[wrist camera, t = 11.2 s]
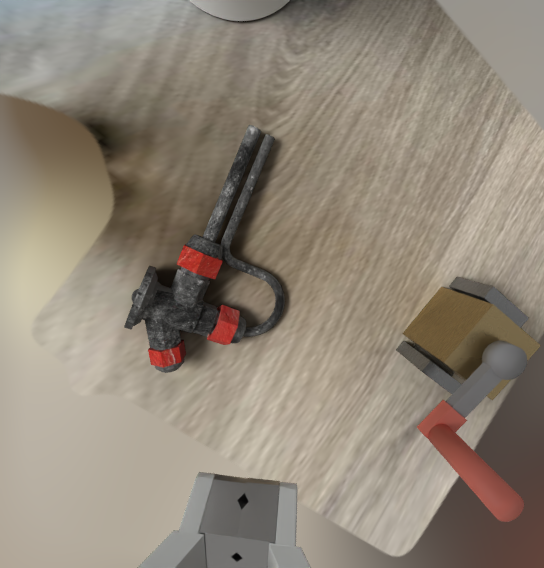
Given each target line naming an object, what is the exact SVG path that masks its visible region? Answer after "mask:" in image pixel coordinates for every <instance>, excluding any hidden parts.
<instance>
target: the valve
mask: <svg viewBox="0 0 544 568" xmlns="http://www.w3.org/2000/svg"><path fill="white" fill-rule="evenodd" d="M260 133H261V131H260V130H259V129H258V128H256V127H254V126H252V125H249V126H248V128H247V131H246V133H245V136H244V138H243V141H242V143H241V145H240V148H239V150H238V153H237V155H236V158H235V160H234V162H233V165H232V167H231V170H230V172H229V174H228V177H227V179H226V182H225V184H224V187H223V189H222V191H221V194H220V196H219V199H218V201H217V203H216V206H215V208H214V211H213V213H212V216H211V218H210V220H209V223H208V225H207V228H206V230H205V232H204V235H203V237H201V236H198V235H193V236H192V238H191V239H190V240H189V241H188V243H187V244H185V245H184V247H183V249H182V252H181V254H180V257H179V259H178V262H177V265H179V266H181V269H178V270H177V273H176V276H175V278H174V281H173V283H172V286H171V288H168V287H166V286H163V285H160V282H157V280H158V277H157V274H156V271H155V270H156V268H155V267H152V266H149V267H148V269H147V272H146V274H145V276H144V278H143V281H142V283H141V286H140V288H139V289H137V290H135V291H134V292H133V294H132V301H133V305H132V308H131V310H130V313H129V315H128V318H127V321H126V323H125V326H124V327H125V328H128V329H132V327H133V326H135V325H136V324H138V323H140V322H141V320H142V319H143V320H145V324H146V329H147V334H148V339H149V345H150V348H149V349H148V351H149V357H150V362H151V365H155V368H156V369H157V370H159V371H161V372H165V373H167V372H172V371H175V370H177V369H178V368H180V366H181V365H182V364H183V363H184V357H185V355H186V351H185V345H184V340H182V339H181V337H180V331H179V330H183V331H186V332H189V333H192V332H194V333H197V334H200V335H203V336H206V337H207V336H208V337H207V340H210V341H213V342H216V343H220V344H223V345H227V344H230V343H238V342H240V340H241V339H242V337H243V336H256V335H260V334H262V333H265V332H267V331H268V330H269V329H271V328H272V327H273V326H274V325H275V324H276V323H277V322H278V320H279V319H280V317H281V315H282V312H283V309H284V303H285V298H284V292H283V289H282V286H281V285H280V283H279V282H278V280H277V279H276V278H275V277H274V276H273V275H271V274H270V273H268V272H266V271H264V270H262V269H260V268H257V267H255V266H252V265H250V264H247V263H245V262H243V261H240V260H238V259H236V258H234V257H233V256H232V255H231V253H230V244H231V242H232V240H233V237H234V235H235V232H236V230H237V228H238V225H239V223H240V221H241V218H242V216H243V213H244V211H245V209H246V206H247V204H248V201H249V199H250V197H251V194H252V192H253V190H254V187H255V185H256V182H257V180H258V178H259V175H260V173H261V171H262V168H263V166H264V163H265V161H266V159H267V156H268V154H269V152H270V149H271V147H272V144H273V142H274V140H275V139H274V137H272V136H270V135H267V134H266V135H265V137H264V140H263V142H262V145H261V147H260V149H259V152H258V154H257V157H256V159H255V161H254V164H253V166H252V169H251V171H250V173H249V176H248V178H247V181H246V183H245V185H244V188H243V190H242V193H241V195H240V197H239V200H238V202H237V205H236V207H235V209H234V212H233V214H232V217H231V219H230V221H229V224H228V226H227V229H226V231H225V233H224V236H223V238H222V241H221V245H220V244H217V243H215V241H216V239H217V236H218V234H219V231H220V229H221V227H222V224H223V222H224V219H225V217H226V215H227V212H228V210H229V207H230V205H231V203H232V200H233V198H234V195H235V193H236V191H237V188H238V186H239V184H240V181H241V179H242V176H243V174H244V172H245V169H246V167H247V164H248V162H249V160H250V157H251V155H252V152H253V150H254V148H255V145H256V143H257V140H258V138H259V136H260ZM222 258H223V260H224V261H225V262H226V263H227V264H228V265H230V266H231V267H233V268H235V269H238V270H240V271H243V272H245V273H248V274H250V275H253V276H255V277H258V278H260V279H262V280H264V281H266V282H267V283H268V284H269V285H270V286H271V287H272V289H273V291H274V293H275V298H276V303H275V308H274V311H273V313H272V315H271V316H270V317H269V319H268V320H267V321H265V322H264V323H263V324H261V325H258V326H255V327H246V320H245V319H244V318H242V317H241V316H240V315H239V312H240V311H238V310H236V309H233V308H230V307H227V306H224V305H221V306H219V307H218V308H217V307H216V306H214V305H211V304H208V303H205V302H203V297H204V295H205V292H206V290H207V288H208V286H209V283H210V280H209V278H212V279H215V278H216V276H217V274H218V271H219V269H220V266H221V264H222V262H223V261H222Z"/></svg>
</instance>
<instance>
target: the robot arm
mask: <svg viewBox="0 0 544 568" xmlns="http://www.w3.org/2000/svg"><path fill="white" fill-rule="evenodd" d="M189 1H190V2H191V3H193V4H194V5H195V6H197V7H198V8H200V9H201V10H203V11H205V12H207V13H209V14H211V15H213V16H216V17H219V18H222V19H226V20H232V21H250V20H256V19H260V18H263V17H266V16H268V15H270V14H272V13H274V12H276V11H277V10H279V9H280V8H282V7H283V6H284V5H285V4H287V3H288V2H289V1H290V0H189ZM279 485H280V487H279ZM296 519H297V483H287V482H280V481H273V480H263V479H254V478H241V477H234V476H225V475H218V474H212V473H204V472H199V473H198V475H197V477H196V479H195V482H194V485H193V489H192V491H191V495H190V498H189V501H188V504H187V507H186V510H185V513H184V516H183V519H182V522H181V526H180V529H179V531H177V530H174V531H173V532H172V533H171V534H170V535H169V536H168V537H167V538H166V539H165V540H164V541H163V542H162V543H161V544H160V545H159V546H158V547H157V548H156V549H155V550H154V551H153V552H152V553H151V554H150V555H149V556H148V557H147V558H146V559H145V560H144V562H142V564H141V565H140V566H139V567H138V568H311V567H310V565H309V563H308V561H307V559H306V557H305V554H304V552H303V550H302V548H301V547H297V546H296V522H297V521H296Z"/></svg>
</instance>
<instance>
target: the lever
mask: <svg viewBox="0 0 544 568" xmlns="http://www.w3.org/2000/svg"><path fill="white" fill-rule="evenodd" d="M526 365H527V355H526V353H525V351H524V350H523V349H521V348H519V347H517V346H515V345H513V344H511V343H508V342H506V341H502V340H499V341H495V342H493V343H491V344H490V345H488V346H487V347H486V349H485V350H484V352H483V355H482V364H481V365H480V366H479V367H478V368H477V369H476V370H475V372H474V373H473V374H472V375H471V376H470V377H469V378H468V379H467V380H466V381H465V382H464V383H463V384H462V385H461V386H460V387H459V388H458V389H457V390H456V391H455V392H454V393H453V394H452V395H451V396H450V397H449V399H448V400H447V401H446V402H445V401H444V400H442V401H441V402H440V403H439V404H438V405H437V407H436V408H435V409H434V410H433V411H432V412H431V413H430V414H429V415H428V416H427V417H426V418H425V419H424V420H423V421H422V422H421V423H420V424H419V425H418V426H417V428H418V429H419V430H420V431H421V432H422V433H423V435H424V436H425V437H427V438H428V439H429V440H430V442H431V443H432V444H433V445H434V447H435V448H436V449H437V450H438V451H439V452H440V453H441V455H442V456H443V457H444V458H445V459H446V460H447V462H448V463H449V464H450V465H451V466H452V467H453V468H454V470H455V471H456V472H457V473H458V474H459V475H460V477H461V478H462V479H463V480H464V481H465V482H466V483H467V485H469V487H470V488H471V489H472V490H473V492H474V493H475V494H476V495H477V496H478V497H479V499H480V500H481V501H482V502H483V503H484V504H485V505H486V507H487V508H488V509H489V510H490V511H491V512H492V514H493V515H494V516H495V517H496V518H497V519H498V520H500V521H503V522H507V521H511V520H514V519H515V518H517V517H518V516H519V515H520V514H521V512H522V510H523V508H524V502H523V499H522V498H521V497H520V496H519V495H518V494H517V493H516V492H515V491H514V490H513V489H512V488H511V487H510V486H509V485H508V484H507V483H506V482H505V481H504V480H503V479H502V478H501V477H500V476H499V475H498V474H497V473H496V472H495V471H493V469H492V468H491V467H489V465H487V464H486V463H485V462H484V461H483V460H482V459H481V458H480V457H479V456H478V455H477V454H476V453H475V452H474V451H473V450H472V449H471V448H470V447H469V446H468V445H467V444H466V443H465V442H464V441H463V440H462V439H461V438H460V437H459V436H458V435H457V434H456V433H455V432H456V431H457V430H458V429H459V428H460V427H461V426H462V425H463V424H464V423H465V422H466V421H467V420H466V419H465V417H466V416H467V415H468V414H469V413H470V412H471V411H472V410H473V409H474V408H475V407H476V406H477V405H478V404H479V403H480V402H481V401H482V400H483V399H484V398H485V397H486V396H487V395H488V394H489V393H490V392H491V391H492V390H493V389H494V388H495V387H496V386H497V385H498V384H499V382H500V381H501V380H502V379H504V380H511V379H514V378H516V377H518V376H519V375H520V374H521V373H522V372H523V371H524V369H525V367H526Z"/></svg>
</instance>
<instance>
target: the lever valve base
mask: <svg viewBox="0 0 544 568" xmlns="http://www.w3.org/2000/svg"><path fill="white" fill-rule="evenodd" d="M449 287H451V288H452V289H453V290H454V291H452V290H449V289H447V288H444V287H441V288H440V289H439V290H438V292H437V293H436V294H435V295H434V297H433V298H432V299H431V300H430V301H429V303H428V304H427V305H426V306H425V307H424V309H423V310H422V311H421V312H420V313H419V315H418V316H417V317H416V318H415V319H414V321H413V322H412V323H411V324H410V325H409V327H408V328H407V329H406V330H405V332H404V333H403V334H404V335H405V336H406V337H408V338H409V339H410V340H411V341H413V342H414V343H415V344H416V345H415V346H414V347H411V346H410V345H409V344H407V343H406V342H405V341H403V342H402V343H401V345H400V346H399V347H398V348H397V349H396V350H397V351H398V352H399V353H400V354H402V355H403V356H404V357H405V358H406V359H408V360H409V361H410V362H411V363H412V364H414V365H415V366H416V367H417V368H418V369H420V370H421V371H422V372H423V373H425V374H426V375H427V376H429V377H430V378H431V379H433V380H434V381H435V382H437V383H438V384H439V385H440V386H442V387H443V388H444V389H446V390H447V391H448V392H450V393H451V394H453V393H454V392H455V391H456V390H457V389H458V388H459V387H460V386H461V384H460V383H459V382H457V381H456V380H455V379H454V378H452V376H453V374H454V373H455V374H456V375H458V376H459V377H460V378H462V379H463V380H465V381H466V380H467V379H468V378H469V377H470V376H471V375H472V374H473V373H474V372H475V370H476V369H477V368H478V367H479V366H480V365H481V364H482V355H483V352H484V350H485V349H486V347H487V346H488V345H490V344H491V343H493V342H495V341H499V340H502V341H506V342H508V343H511V344H513V345H515V346H517V347H519V348H521V349H523V350H524V351H525V353H526V355H527V361H528V360H529V358H530V357H531V356H532V355H533V354H534V353H535V352H536V351H537V349H538V348H539V347H540V344H538V343H537V342H536V341H535V340H534V339H533V338H531V337H530V336H529V335H528V334H527V333H526V332H525V331H523V330H522V329H521V327H522V326H523V324H524V323H525V322H526V321H527V320H528V319H529V318H528V317H527V316H526V315H525V314H524V313H523V312H522V311H520V310H519V309H518V308H517V307H516V306H515V305H514V304H513V303H511V302H510V301H509V300H508V299H507V298H506V297H505V296H504V295H502V294H501V293H500V292H499V291H498V290H497V289H496V288H495V287H493V286H490V285H486V284H482V283H479V282H475V281H471V280H467V279H464V278H460V277H456V278H455V280H454V281H453V282H452V283H451V285H450V286H449ZM509 381H510V380H504V379H502V380H501V381H500V382H499V384H498V385H497V386H496V387H495V388H494V389H493V390H492V391H491V392H490V393H489V394H488V395H487V397H488V398H490V399H491V400H493V399H494V398H495V397H496V396H497V395H498V394H499V392H500V391H501V390H502V389H503V388H504V387H505V386H506V385H507V383H508V382H509Z"/></svg>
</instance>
